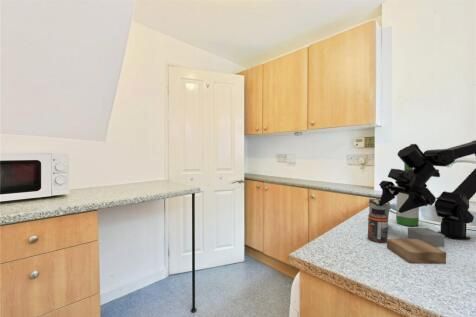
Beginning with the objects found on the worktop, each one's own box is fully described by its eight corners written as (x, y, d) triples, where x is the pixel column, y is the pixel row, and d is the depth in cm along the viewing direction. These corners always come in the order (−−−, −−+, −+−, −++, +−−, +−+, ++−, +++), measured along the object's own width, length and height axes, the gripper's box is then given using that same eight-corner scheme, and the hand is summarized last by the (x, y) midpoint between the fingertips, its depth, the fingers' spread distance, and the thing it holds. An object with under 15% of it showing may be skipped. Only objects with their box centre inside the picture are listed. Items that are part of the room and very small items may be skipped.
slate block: (428, 239, 83) (428, 228, 83) (444, 247, 76) (444, 235, 76) (407, 238, 84) (407, 227, 83) (421, 246, 77) (421, 234, 76)
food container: (396, 230, 91) (397, 205, 91) (379, 229, 92) (379, 204, 92) (383, 221, 103) (384, 198, 103) (368, 220, 104) (368, 198, 104)
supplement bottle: (363, 236, 85) (364, 205, 84) (379, 236, 85) (380, 205, 85) (374, 243, 79) (375, 209, 78) (391, 242, 79) (392, 209, 79)
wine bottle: (411, 228, 95) (413, 153, 94) (391, 222, 102) (393, 153, 101) (422, 225, 98) (424, 153, 97) (403, 220, 105) (405, 153, 104)
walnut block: (418, 248, 75) (418, 238, 75) (445, 263, 65) (446, 252, 65) (386, 247, 75) (387, 238, 75) (409, 262, 65) (409, 252, 65)
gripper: (384, 159, 91) (357, 188, 90) (429, 162, 73) (395, 198, 72) (401, 179, 93) (375, 208, 92) (450, 187, 74) (417, 222, 73)
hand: (388, 208), depth 82 cm, fingers open, 9 cm apart
